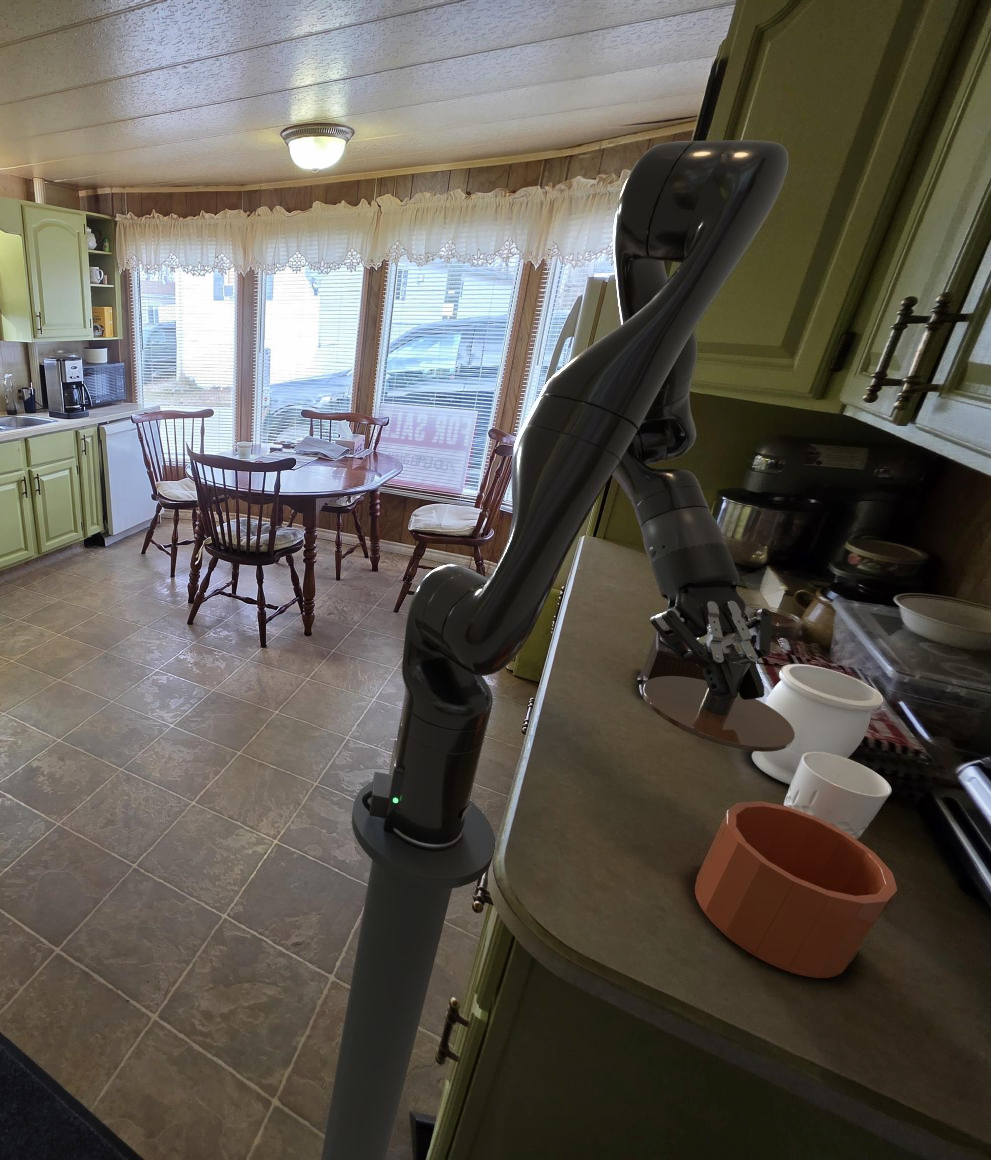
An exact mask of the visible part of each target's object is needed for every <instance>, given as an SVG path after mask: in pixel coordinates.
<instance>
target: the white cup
mask: <svg viewBox="0 0 991 1160" xmlns="http://www.w3.org/2000/svg"><path fill="white" fill-rule="evenodd" d="M892 790H893V789H892V787H891V785H890V783H889V782H888V781H887V780H886V779H885V778H884V777H883V776H882V775H880V774H878V773H877V772H876V771H874V770H873V769H871V768H870V767H868V766H865V765H863V764H862V763H859V762H857V761H855V760H852V759H850V758H844V757H841V756H838V755H834V754H829V753H824V752H808V753H805V754H804V755H803V756H802V758H801V761H800V763H799V766H798V768H797V770H796V773H795V775H794V778H793V780H792V782H791V785H789V788H788V790H787V793H786V796H785V797H784V801H783V806H787V807H790V808H792V809H795V810H798V811H801V812H804V813H806V814H809V815H812V816H815V817H817V818H819V819H821V820H823V821H825V822H827V823H829V824H831V825H833V826H835V827H837V828H838V829H840V830H842V831H844V832H846V833H848V834H849V835H851V836H852V837H854V838H855V839H856V840H858V839H859V838H860V837H862V835H863V833H864V832H865V831H866V829H867V828H868V827H869V826H870V823H871V822H872V821H873V820H874V819H875V817H876V816H877V814H878V813H879V811H880V810H881V808H882V807H883V805H884V804H885V803H886V801H887V800H888V798H889V797H890V795H891V794H892Z"/></svg>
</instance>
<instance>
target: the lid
mask: <svg viewBox="0 0 991 1160" xmlns="http://www.w3.org/2000/svg"><path fill="white" fill-rule="evenodd" d="M723 657H724V661H723V662H721V664H727V666H728V669H729V672H730V675H731V677H732V680H733V683H734V685H735V688H736V691H737V694H738V695H737V697H736V698H734V699H729V700H725V701H718V700H716V699H715V698H714V695H712V694H711V692H710V691H709V688H708V685H707V682H706V681H705V680H700V679H695V678H689V677H681V676H662V677H656V678H653V679H651V680H649V681H647V682H646V683H645V685H644V687H643V690H642V695H643V696H642V695H641V696H642V699H643V700H644V702H645V704H646V705H647V706H648V707H649V708H650V709H651V710H652V712H654V713H655V714H657V715H658V716H659V717H661V718H662V719H663V720H665V721H667V722H668V723H670V724H672V725H673V726H675V727H677V728H678V729H680V730H682V731H685V732H687V733H689V734H691V735H693V736H696V737H698V738H700V739H703V740H706V741H709V742H712V743H715V744H718V745H721V746H725V747H729V748H733V749H739V750H743V751H749V752H754V751H760V752H772V751H779V750H782V749H785V748H787V747H789V746H790V745H791V744H792V742H793V739H794V737H795V733H794V730H793V728H792V726H791V724H790V723H789V722H788V721H787V720H786V719H785V718H784V717H783V716H782V715H781V714H779V713H778V712H777V711H775V710H774V709H772V708H771V707H769V706H768V705H766V704H765V702H763V701H761V700H759V699H758V698H756V699H752V700H744V699H742V698H741V697H740V694H739V690H740V688H741V685H742V683H743V681H744V678H745V676H746V674H747V671H748V669H749V667H750V665H751V662H750V661H749V660H748V659H746V658H745V657H742V656H740V655H736V654H732V653H723Z"/></svg>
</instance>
